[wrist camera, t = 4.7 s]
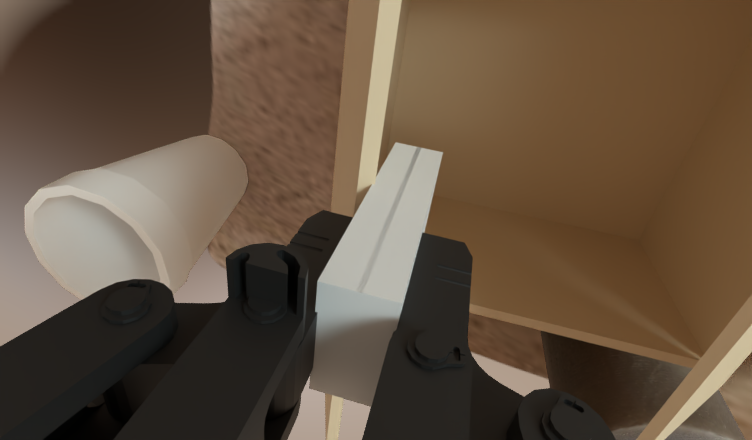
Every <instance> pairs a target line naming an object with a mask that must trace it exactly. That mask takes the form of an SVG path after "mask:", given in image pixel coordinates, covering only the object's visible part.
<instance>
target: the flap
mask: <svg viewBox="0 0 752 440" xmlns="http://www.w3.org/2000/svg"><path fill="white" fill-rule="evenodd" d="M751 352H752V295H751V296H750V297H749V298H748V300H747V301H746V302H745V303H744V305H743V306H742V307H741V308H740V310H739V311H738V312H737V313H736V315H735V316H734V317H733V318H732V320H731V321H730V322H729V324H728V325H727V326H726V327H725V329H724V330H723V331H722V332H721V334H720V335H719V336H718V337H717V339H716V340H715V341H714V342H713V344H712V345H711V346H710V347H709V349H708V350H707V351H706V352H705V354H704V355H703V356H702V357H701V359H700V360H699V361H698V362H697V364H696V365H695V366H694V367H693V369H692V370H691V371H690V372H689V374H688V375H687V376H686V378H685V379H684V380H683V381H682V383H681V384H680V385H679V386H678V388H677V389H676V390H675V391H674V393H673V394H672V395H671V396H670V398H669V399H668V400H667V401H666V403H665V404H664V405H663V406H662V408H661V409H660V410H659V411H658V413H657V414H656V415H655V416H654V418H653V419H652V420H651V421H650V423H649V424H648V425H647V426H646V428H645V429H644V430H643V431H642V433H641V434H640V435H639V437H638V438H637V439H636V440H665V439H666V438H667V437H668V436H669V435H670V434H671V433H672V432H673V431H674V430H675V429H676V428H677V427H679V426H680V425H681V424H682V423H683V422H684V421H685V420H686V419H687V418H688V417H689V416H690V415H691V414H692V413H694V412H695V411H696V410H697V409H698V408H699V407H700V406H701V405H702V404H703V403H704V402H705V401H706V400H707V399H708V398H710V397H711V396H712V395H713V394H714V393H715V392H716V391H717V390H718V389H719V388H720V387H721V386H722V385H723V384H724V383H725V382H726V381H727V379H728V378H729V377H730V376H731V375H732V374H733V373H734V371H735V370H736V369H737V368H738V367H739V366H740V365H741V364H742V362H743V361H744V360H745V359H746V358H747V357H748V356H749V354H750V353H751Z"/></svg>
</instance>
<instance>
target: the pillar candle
mask: <svg viewBox="0 0 752 440" xmlns="http://www.w3.org/2000/svg"><path fill="white" fill-rule="evenodd" d="M541 336H542V342H543V348H544V354H545V360H546V368H547V372H548V378H549V383H550V389H554V390H558V391H562V392H567V393H569V394H571V395H572V396H574V397H576V398H578V399H580V400H582V401H583V402H585V403H586V404H587V405H589V406H590V407H591V408H592V409H593V410H594V411H595V412H596V413H598V414H599V415H600V416H601V417H602V419H603V420H604V422H605V423H606V425H607V426H608V427H609V429H610V430H611V432H612V433H613V435H614V437H615V439H616V440H636V439H637V438H638V437H639V435H640V434H641V433H642V431H643V430H644V429H645V428H646V426H647V425H648V424H649V423H650V421H651V420H652V419H653V418H654V416H655V415H656V414H657V413H658V411H659V410H660V409H661V408H662V406H663V405H664V404H665V403H666V401H667V400H668V399H669V398H670V396H671V395H672V394H673V393H674V391H675V390H676V389H677V388H678V386H679V385H680V384H681V383H682V381H683V380H684V379H685V378H686V376H687V375H688V374H689V372H690V371H691V370H692V369H693V368H689V367H685V366H681V365H677V364H673V363H669V362H665V361H661V360H657V359H653V358H649V357H645V356H641V355H637V354H633V353H629V352H625V351H621V350H617V349H613V348H609V347H605V346H601V345H597V344H593V343H589V342H585V341H581V340H577V339H573V338H569V337H565V336H561V335H557V334H553V333H549V332H545V331H541ZM665 440H746V439H745V438H744V436H743V434H742V432H741V430H740V428H739V427H738V425H737V423H736V421H735V420H734V417H733V416H732V414H731V412H730V410H729V408H728V406H727V405H726V403H725V401H724V399H723V397H722V395H721V394H720V392H719V390H717V391H716V392H715V393H714V394H713V395H712V396H711V397H710V398H708V399H707V400H706V401H705V402H704V403H703V404H702V405H701V406H700V407H699V408H698V409H697V410H696V411H695V412H694V413H692V414H691V415H690V416H689V417H688V418H687V419H686V420H685V421H684V422H683V423H682V424H681V425H680V426H679V427H677V428H676V429H675V430H674V431H673V432H672V433H671V434H670V435H669V436H668V437H667V438H666V439H665Z"/></svg>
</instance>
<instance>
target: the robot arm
mask: <svg viewBox="0 0 752 440" xmlns="http://www.w3.org/2000/svg"><path fill="white" fill-rule="evenodd" d="M442 155H443V152H439V151H434V150H430V149H425V148H420V147H415V146H411V145H406V144H401V143H397V142H396V143H395V144H394V146H393V148H392V150H391V151H390V153H389V155H388V157H387V159H386V160H385V162H384V164H383V166H382V167H381V169H380V171H379V173H378V175H377V176H376V181H375V184H372V185H371V187H370V189H369V191H368V192H367V194H366V196H365V198H364V199H363V201H362V203H361V205H360V207H359V208H358V210H357V212H356V214H355V215H354V217H349V216H345V215H341V214H337V213H333V212H329V211H325V210H323V211H321V212H319V213H317V214H315V215H313V216H312V217H310V218H308V219H307V220H306V221H305V222H304V224H303V225H302V226H301V228H300V229H299V231H298V233H297V234H296V235H295V236H294V237H293V239H292V240H291V241H290V244H288V245H287V246H284V245H279V244H272V243H262V244H252V245H249V246H246V247H243V248H240V249H237V250H236V251H234V252H233V253H232V254H230V255H229V256H228V257H226V268H227V281H228V296H229V297H228V298H227V300H226V301H225V302H222V303H204V304H202V303H175V302H174V298H173V293H172V291H171V290H170V289H169V288H168V287H167V286H166V285H165V284H164V283H160V282H157V281H154V280H151V279H131V280H126V281H121V282H116V283H114V284H112V285H109V286H107V287H105V288H102V289H100V290H98V291H96V292H95V293H93V294H91V295H89V296H88V297H86V298H84V299H82V300H81V301H79V302H77V303H76V304H74V305H72V306H70V307H68V308H67V309H65V310H63V311H61V312H60V313H58V314H56V315H54V316H53V317H51V318H49V319H47V320H46V321H44V322H42V323H41V324H39V325H37V326H35V327H33V328H32V329H30V330H28V331H27V332H25V333H23V334H21V335H20V336H18V337H16V338H14V339H13V340H11V341H9V342H7V343H6V344H4V345H2V346H0V440H287V439H288V436H289V434H290V432H291V430H292V427H293V425H294V423H295V420H296V418H297V416H298V412H299V408H300V401H301V393H302V391H303V389H304V386H305V384H306V382H307V380H308V378H309V376H310V386H309V388H310V389H314V390H317V391H320V392H324V393H327V394H330V395H333V396H337V397H340V398H343V399H347V400H351V401H354V402H357V403H361V404H364V405H367V406H371V409H370V413H369V417H368V420H367V424H366V428H365V431H364V435H363V438H362V440H616V439H615V437H614V435H613V433H612V432H611V430H610V429H609V427H608V426H607V425H606V423H605V422H604V420H603V419H602V417H601V416H600V415H599V414H598V413H596V412H595V411H594V410H593V409H592V408H591V407H590V406H589V405H587V404H586V403H585V402H583V401H582V400H580V399H578V398H576V397H574V396H572V395H571V394H569V393H567V392H562V391H558V390H554V389H550V388H549V389H539V390H534V391H532V392H531V393H529V394H528V395H526V396H525V397H523V396H522V395H520V394H518V393H516V392H515V391H513V390H511V389H509V388H508V387H506V386H504V385H502V384H500V383H499V382H498V381H496V380H495V379H493V378H492V377H490V376H489V375H488V374H487V373H485V371H484V370H483V369H482V368H481V367H480V366H479V365H478V364H477V362H476V361H475V359H474V358H473V357H472V354H471V352H470V349H469V347H468V338H467V336H468V322H469V307H470V292H471V288H470V287H471V277H472V276H471V274H472V263H473V257H472V255H471V253H470V251H469V250H468V248H467V246H466V244H465V242H460V241H456V240H452V239H448V238H444V237H439V236H435V235H431V234H427V233H424V232H425V228H426V224H427V219H428V215H429V211H430V206H431V202H432V198H433V194H434V189H435V185H436V181H437V176H438V172H439V168H440V163H441V159H442Z"/></svg>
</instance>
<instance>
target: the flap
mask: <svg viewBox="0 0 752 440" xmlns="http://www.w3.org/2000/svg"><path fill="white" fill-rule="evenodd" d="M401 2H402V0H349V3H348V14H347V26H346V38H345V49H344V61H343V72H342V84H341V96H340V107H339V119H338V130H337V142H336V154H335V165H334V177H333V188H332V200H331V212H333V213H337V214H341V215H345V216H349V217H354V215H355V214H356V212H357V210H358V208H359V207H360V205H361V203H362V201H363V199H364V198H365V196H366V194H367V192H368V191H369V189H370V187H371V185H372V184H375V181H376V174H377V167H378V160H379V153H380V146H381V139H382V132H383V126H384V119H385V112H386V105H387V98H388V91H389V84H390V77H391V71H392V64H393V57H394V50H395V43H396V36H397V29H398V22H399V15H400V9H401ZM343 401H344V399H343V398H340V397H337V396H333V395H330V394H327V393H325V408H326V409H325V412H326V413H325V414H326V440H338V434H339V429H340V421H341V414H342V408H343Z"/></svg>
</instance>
